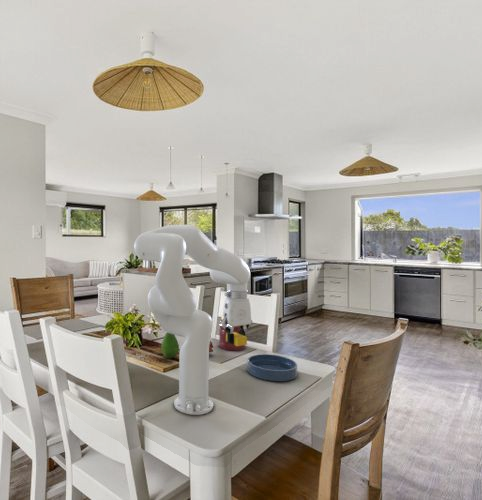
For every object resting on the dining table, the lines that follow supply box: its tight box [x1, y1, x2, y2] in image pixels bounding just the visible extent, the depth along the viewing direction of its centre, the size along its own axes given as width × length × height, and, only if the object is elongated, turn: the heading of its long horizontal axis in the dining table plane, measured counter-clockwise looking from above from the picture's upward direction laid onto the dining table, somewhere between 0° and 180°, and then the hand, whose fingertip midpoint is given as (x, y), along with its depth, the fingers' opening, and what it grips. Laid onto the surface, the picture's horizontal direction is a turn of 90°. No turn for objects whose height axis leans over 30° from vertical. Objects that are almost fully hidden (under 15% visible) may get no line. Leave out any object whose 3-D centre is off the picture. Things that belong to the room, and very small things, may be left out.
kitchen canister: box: [218, 316, 246, 351], centre depth 180 cm, size 13×13×18 cm
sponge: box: [226, 332, 248, 346], centre depth 137 cm, size 7×4×3 cm, turn 25°
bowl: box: [246, 353, 298, 382], centre depth 147 cm, size 19×19×4 cm
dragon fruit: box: [209, 340, 214, 353], centre depth 167 cm, size 8×8×12 cm
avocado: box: [160, 332, 180, 360], centre depth 163 cm, size 8×8×12 cm
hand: (236, 341), depth 137 cm, fingers closed on sponge, 4 cm apart
